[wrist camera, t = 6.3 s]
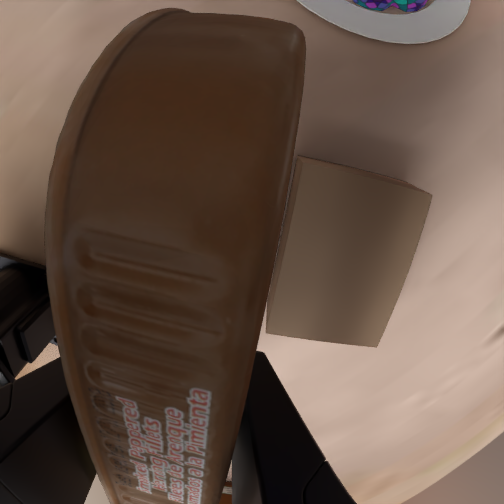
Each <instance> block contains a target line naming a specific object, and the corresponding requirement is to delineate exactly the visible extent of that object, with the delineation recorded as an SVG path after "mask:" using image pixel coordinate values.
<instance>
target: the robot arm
mask: <svg viewBox="0 0 504 504" xmlns="http://www.w3.org/2000/svg"><path fill="white" fill-rule="evenodd" d="M44 273H45V274H46V275H45V274H44ZM49 342H50V343H52V344H55V345H58V344H57V339H56V334H55V328H54V322H53V316H52V310H51V303H50V296H49V290H48V284H47V272H46V266H43V265H39V264H36V263H32V262H29V261H25V260H22V259H18V258H15V257H12V256H8V255H5V254H2V253H0V504H84V502H85V500H86V497H87V495H88V492H89V490H90V488H91V485H92V482H93V480H94V478H95V475H96V473H97V472H96V469H95V466H94V464H93V462H92V460H91V457H90V454H89V452H88V449H87V446H86V443H85V440H84V437H83V434H82V432H81V429H80V426H79V423H78V420H77V417H76V414H75V410H74V407H73V404H72V401H71V397H70V394H69V391H68V388H67V384H66V380H65V376H64V371H63V367H62V362H61V357H59V358H57V359H55V360H53V361H51V362H49V363H48V364H46V365H44V366H42V367H40V368H38V369H36V370H34V371H32V372H30V373H28V374H26V375H25V376H23V377H21V378H19V379H17V380H16V379H15V377H16V376H17V375H18V374H19V372H20V371H21V370H22V369H23V368H24V366H25V365H26V364H27V363H28V362H29V363H32V362H33V361H34V360H35V359H36V358H37V357H38V356H39V354H40V353H41V352H42V351H43V350H44V348H45V347H46V346H47V345H48V344H49ZM325 460H326V458H325V456H324V455H323V453H322V451H321V450H320V448H319V446H318V445H317V443H316V441H315V440H314V438H313V436H312V435H311V433H310V431H309V430H308V428H307V426H306V425H305V423H304V421H303V420H302V418H301V416H300V414H299V413H298V411H297V409H296V408H295V406H294V404H293V402H292V401H291V399H290V397H289V396H288V394H287V392H286V390H285V389H284V387H283V385H282V383H281V382H280V380H279V378H278V376H277V375H276V373H275V371H274V369H273V368H272V366H271V364H270V362H269V360H268V359H267V357H266V355H265V353H263V352H260V351H256V354H255V359H254V364H253V369H252V374H251V379H250V384H249V388H248V393H247V397H246V402H245V406H244V410H243V415H242V419H241V423H240V428H239V432H238V436H237V440H236V444H235V449H234V453H233V456H232V504H357V503H356V502H355V501H354V500H353V498H352V497H351V496H350V495H349V493H348V492H347V490H346V489H345V487H344V486H343V484H342V483H341V481H340V480H339V479H338V477H337V476H336V474H335V472H334V471H333V469H332V467H331V466H330V464H329V462H328V461H325ZM324 461H325V462H324Z"/></svg>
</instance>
